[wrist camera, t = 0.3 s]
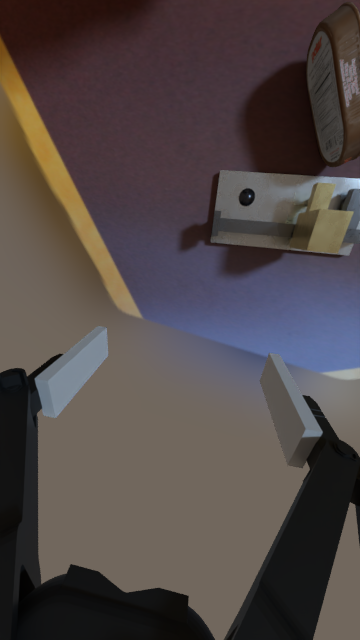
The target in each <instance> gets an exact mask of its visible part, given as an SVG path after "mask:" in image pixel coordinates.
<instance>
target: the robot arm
mask: <svg viewBox="0 0 360 640" xmlns="http://www.w3.org/2000/svg"><path fill="white" fill-rule="evenodd" d="M107 356H108V343H107V327H100V326H97V327H96V328H95V329H94V330H93V331H91V332H90V333H89V334H88V335H87V336H85V337H84V338H83V339H82V340H80V341H79V342H78V343H77V344H76V345H75V346H73V347H72V348H71V349H70V350H69V351H67V352H66V353H65V354H58V355H56V356H54V357H52V358H50V360H48V361H47V362H46V363H44V364H43V365H42V366H41V367H39V368H38V369H36V370H35V371H34V372H33V373H31V374H30V375H29V376H28V377H27V376H26V372H25V370H24V369H21V368H14V369H9V370H6V371H4V372H1V373H0V640H215V639H214V637H213V635H212V633H211V632H210V630H209V628H208V627H207V625H206V624H205V623H204V621H203V620H202V618H201V617H200V616H199V615H198V614H197V613H196V612H195V611H194V610H193V609H191V608H190V607H189V606H188V596H187V595H184V594H180V593H176V592H172V591H169V590H165V589H161V588H155V589H148V590H142V591H135V592H129V593H126V592H123V591H122V590H120V589H119V588H118V587H117V586H116V585H114V584H113V583H112V582H110V581H109V580H108V579H107V578H106V577H105V576H103V575H102V574H101V573H100V572H98V571H94V570H91V569H87V568H83V567H79V566H76V565H72V564H71V565H70V568H69V570H68V572H67V574H63V575H60V576H57V577H54V578H52V579H50V580H48V581H46V582H45V583H43V584H41V574H40V566H39V559H38V417H37V413H38V412H39V411H40V409H42V411H43V415H44V416H48V417H53V418H56V417H57V416H58V414H60V412H61V411H62V410H63V409H64V408H65V406H66V405H67V404H68V403H69V402H70V400H71V399H72V398H73V397H74V396H75V394H76V393H77V392H78V391H79V390H80V388H81V387H82V386H83V385H84V384H85V382H86V381H87V380H88V379H89V378H90V376H91V375H92V374H93V373H94V372H95V371H96V369H97V368H98V367H99V366H100V364H101V363H102V362H103V361H104V360H105V359H106V357H107ZM260 383H261V386H262V389H263V392H264V395H265V398H266V401H267V404H268V407H269V410H270V413H271V416H272V419H273V423H274V426H275V429H276V432H277V434H278V438H279V441H280V444H281V447H282V450H283V453H284V456H285V459H286V462H287V465H289V466H294V467H299V468H303V466H304V464H305V463H306V461H307V463H308V465H309V467H310V471H309V472H308V474H307V476H306V477H305V479H304V480H303V484H302V486H301V488H300V490H299V492H298V494H297V496H296V498H295V500H294V502H293V504H292V506H291V508H290V510H289V512H288V514H287V516H286V518H285V520H284V522H283V524H282V526H281V528H280V530H279V532H278V534H277V536H276V538H275V540H274V542H273V544H272V546H271V548H270V550H269V552H268V554H267V556H266V558H265V560H264V562H263V564H262V567H261V569H260V571H259V572H258V575H257V576H256V579H255V581H254V582H253V585H252V587H251V589H250V591H249V593H248V595H247V597H246V599H245V601H244V603H243V605H242V607H241V609H240V611H239V612H238V614H237V616H236V618H235V620H234V622H233V624H232V625H231V627H230V629H229V631H228V633H227V635H226V637H225V639H224V640H313V636H314V633H315V630H316V626H317V622H318V618H319V615H320V611H321V607H322V604H323V600H324V596H325V592H326V588H327V585H328V581H329V578H330V574H331V570H332V566H333V562H334V559H335V555H336V551H337V548H338V544H339V540H340V537H341V533H342V529H343V526H344V522H345V518H346V514H347V511H348V507H349V503H350V502H351V503H353V504H355V506H356V516H357V524H358V534H359V543H360V457H359V456H358V454H357V452H356V451H355V450H354V449H353V448H352V447H351V446H349V445H348V444H347V443H345V442H343V441H341V440H339V438H338V437H337V435H336V433H335V432H334V430H333V428H332V427H331V425H330V424H329V422H328V420H327V419H326V418H325V416H324V414H323V412H321V409H320V407H319V406H318V404H317V403H316V402H315V401H314V400H313V399H312V398H311V397H310V396H305V395H302V394H301V393H300V391H299V389H298V387H297V385H296V384H295V382H294V380H293V378H292V376H291V374H290V373H289V371H288V369H287V367H286V366H285V364H284V362H283V360H282V358H281V357H280V355H279V354H272V353H269V355H268V358H267V361H266V364H265V367H264V370H263V373H262V376H261V379H260Z"/></svg>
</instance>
